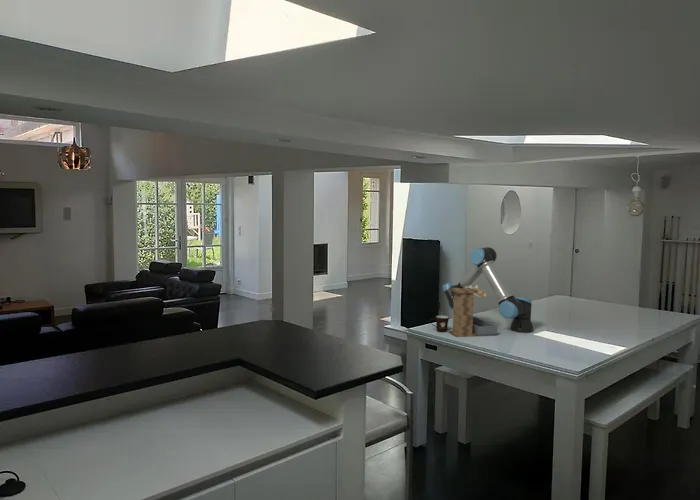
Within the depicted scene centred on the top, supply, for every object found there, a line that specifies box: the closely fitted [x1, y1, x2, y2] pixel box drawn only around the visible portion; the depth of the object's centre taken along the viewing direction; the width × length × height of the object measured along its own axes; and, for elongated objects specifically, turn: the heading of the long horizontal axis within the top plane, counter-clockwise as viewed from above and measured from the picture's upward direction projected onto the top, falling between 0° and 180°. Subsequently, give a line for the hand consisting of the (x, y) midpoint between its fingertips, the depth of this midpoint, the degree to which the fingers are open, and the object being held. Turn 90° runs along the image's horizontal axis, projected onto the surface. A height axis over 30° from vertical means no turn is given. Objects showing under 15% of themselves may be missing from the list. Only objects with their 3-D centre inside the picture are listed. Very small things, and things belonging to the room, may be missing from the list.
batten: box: [465, 285, 487, 298], centre depth 364 cm, size 4×22×4 cm, turn 15°
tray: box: [472, 315, 498, 337], centre depth 365 cm, size 14×32×6 cm, turn 15°
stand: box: [448, 288, 478, 338], centre depth 350 cm, size 14×12×30 cm
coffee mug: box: [430, 315, 450, 333], centre depth 359 cm, size 12×9×10 cm
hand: (474, 287), depth 366 cm, fingers closed on batten, 4 cm apart
